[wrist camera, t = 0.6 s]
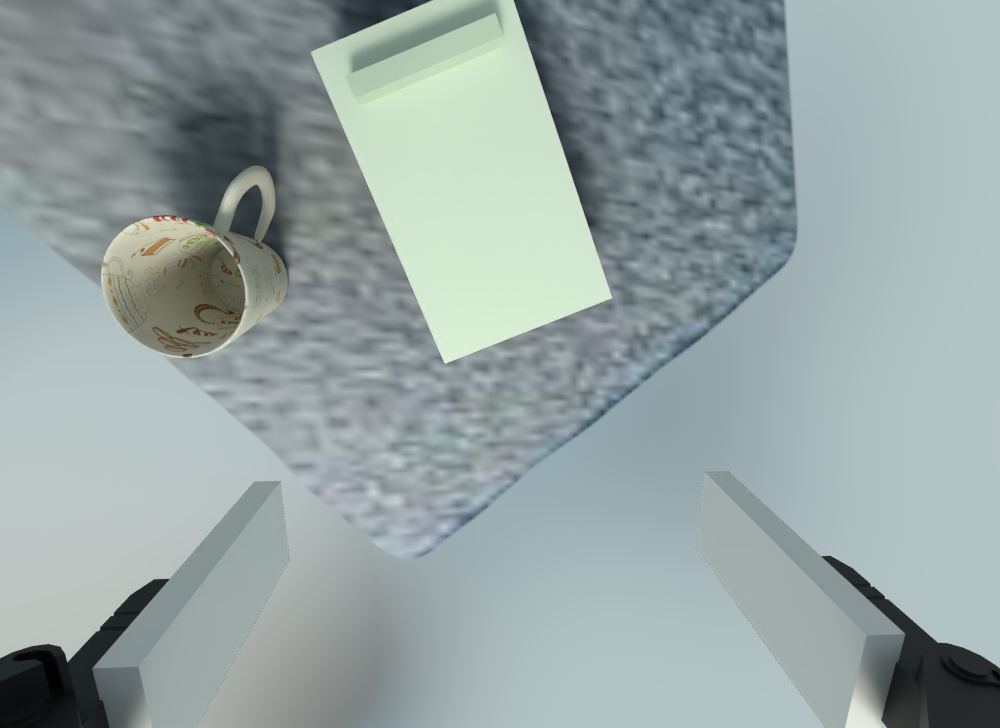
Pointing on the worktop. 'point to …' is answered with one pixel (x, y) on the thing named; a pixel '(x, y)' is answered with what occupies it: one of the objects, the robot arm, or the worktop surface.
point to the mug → (194, 276)
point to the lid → (466, 170)
